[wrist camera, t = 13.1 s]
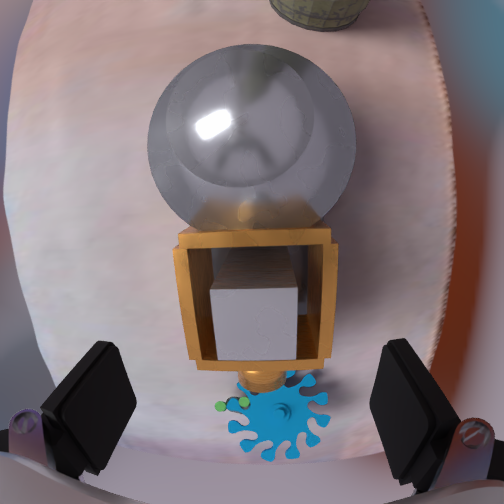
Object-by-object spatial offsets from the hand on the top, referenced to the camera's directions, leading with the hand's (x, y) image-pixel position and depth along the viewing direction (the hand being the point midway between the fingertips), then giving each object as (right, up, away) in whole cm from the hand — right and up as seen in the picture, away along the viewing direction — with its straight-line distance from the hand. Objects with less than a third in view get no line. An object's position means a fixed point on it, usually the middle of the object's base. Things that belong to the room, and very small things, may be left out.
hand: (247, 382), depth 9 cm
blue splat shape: (+2, -10, +19) cm, 22 cm away
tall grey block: (+1, +3, +14) cm, 15 cm away
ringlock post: (+1, +7, +14) cm, 16 cm away
